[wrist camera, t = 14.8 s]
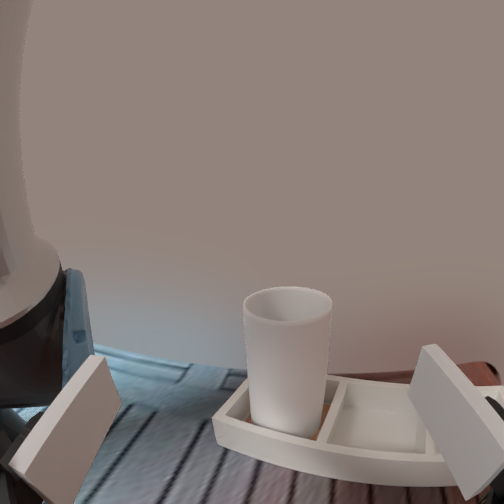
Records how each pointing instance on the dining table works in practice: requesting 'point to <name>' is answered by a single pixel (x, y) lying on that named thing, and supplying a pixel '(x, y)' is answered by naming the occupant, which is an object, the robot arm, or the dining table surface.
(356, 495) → the dining table surface
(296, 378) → the cup
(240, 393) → the bay rack
